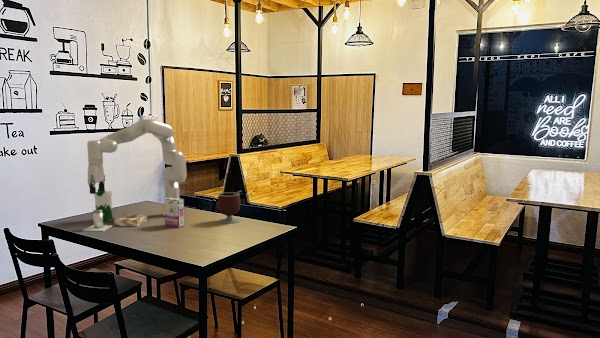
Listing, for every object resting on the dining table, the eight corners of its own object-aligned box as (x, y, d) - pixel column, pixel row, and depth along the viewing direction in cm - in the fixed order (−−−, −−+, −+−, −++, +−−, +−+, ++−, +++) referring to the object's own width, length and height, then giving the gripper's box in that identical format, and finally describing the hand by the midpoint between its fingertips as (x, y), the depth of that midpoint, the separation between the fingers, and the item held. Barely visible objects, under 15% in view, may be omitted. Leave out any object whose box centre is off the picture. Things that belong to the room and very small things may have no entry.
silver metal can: (105, 226, 262) (104, 209, 261) (101, 228, 257) (99, 211, 256) (96, 226, 262) (95, 209, 261) (92, 228, 257) (91, 211, 256)
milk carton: (93, 221, 276) (92, 189, 273) (101, 218, 285) (100, 187, 282) (107, 222, 275) (106, 189, 273) (114, 218, 284) (113, 187, 282)
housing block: (147, 220, 279) (147, 214, 278) (137, 226, 265) (137, 219, 264) (125, 220, 280) (125, 214, 279) (114, 225, 266) (114, 219, 265)
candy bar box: (184, 226, 267) (184, 198, 265) (178, 227, 262) (178, 200, 261) (170, 223, 272) (170, 197, 270) (164, 225, 268) (163, 198, 266)
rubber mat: (113, 226, 265) (113, 225, 265) (103, 231, 253) (103, 230, 253) (94, 225, 266) (94, 224, 266) (82, 230, 254) (82, 229, 254)
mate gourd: (213, 222, 275) (213, 190, 273) (224, 218, 288) (224, 187, 286) (236, 225, 270) (236, 192, 268) (246, 220, 283) (246, 188, 281)
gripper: (97, 160, 264) (99, 189, 266) (80, 164, 247) (82, 194, 249) (109, 160, 263) (111, 189, 265) (93, 164, 246) (95, 195, 248)
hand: (97, 192), depth 257 cm, fingers open, 9 cm apart
